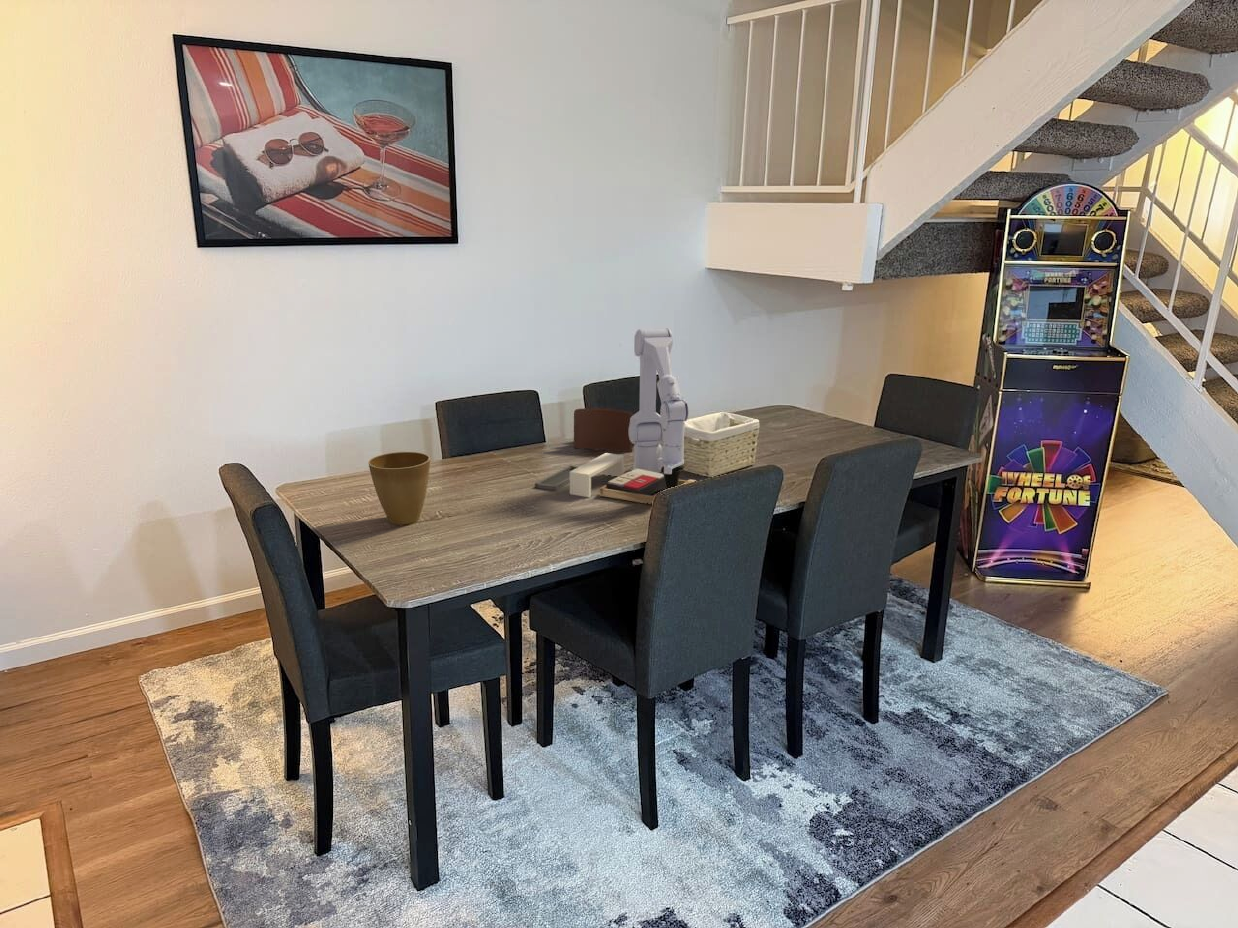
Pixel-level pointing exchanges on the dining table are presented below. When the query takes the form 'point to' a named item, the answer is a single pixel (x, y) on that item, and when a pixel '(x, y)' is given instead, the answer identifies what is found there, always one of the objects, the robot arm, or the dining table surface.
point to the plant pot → (401, 484)
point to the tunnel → (584, 474)
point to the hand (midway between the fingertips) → (671, 492)
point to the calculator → (638, 482)
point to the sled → (632, 494)
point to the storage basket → (719, 443)
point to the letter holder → (602, 429)
